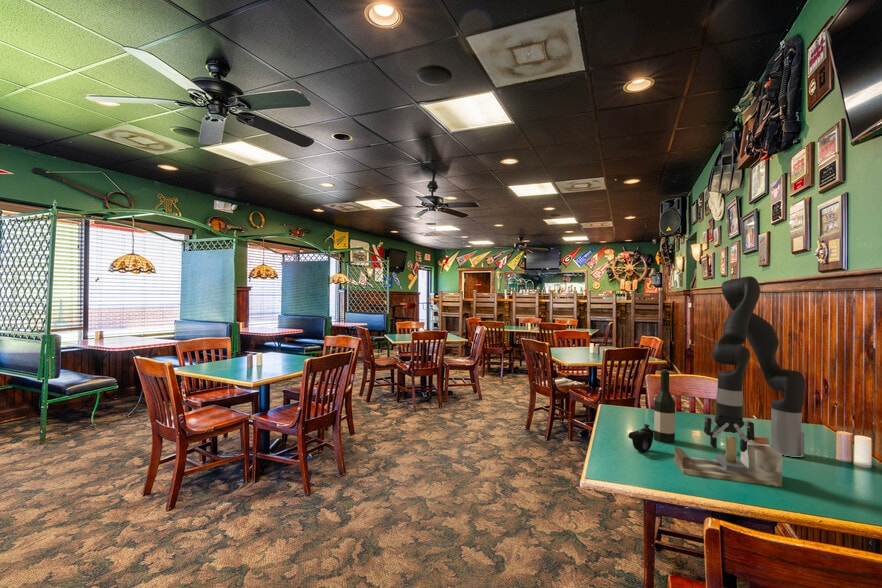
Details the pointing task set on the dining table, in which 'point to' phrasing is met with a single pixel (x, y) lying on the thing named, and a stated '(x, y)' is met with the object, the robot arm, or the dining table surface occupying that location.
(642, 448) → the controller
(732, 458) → the carriage
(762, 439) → the button
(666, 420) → the wine bottle
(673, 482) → the dining table surface
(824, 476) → the dining table surface
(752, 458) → the rail board
